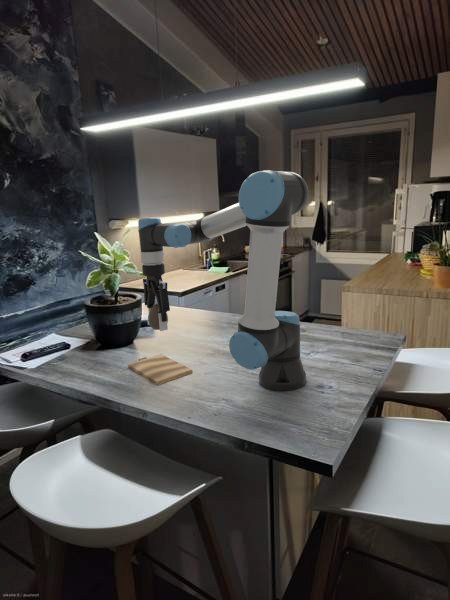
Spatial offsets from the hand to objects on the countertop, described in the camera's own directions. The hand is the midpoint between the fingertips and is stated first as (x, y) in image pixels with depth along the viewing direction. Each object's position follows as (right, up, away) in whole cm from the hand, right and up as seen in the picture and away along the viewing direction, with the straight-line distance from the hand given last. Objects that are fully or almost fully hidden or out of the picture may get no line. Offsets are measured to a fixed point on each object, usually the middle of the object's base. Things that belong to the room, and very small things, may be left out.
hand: (158, 327), depth 144 cm
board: (-1, -15, +4) cm, 16 cm away
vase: (0, 0, 0) cm, 0 cm away
